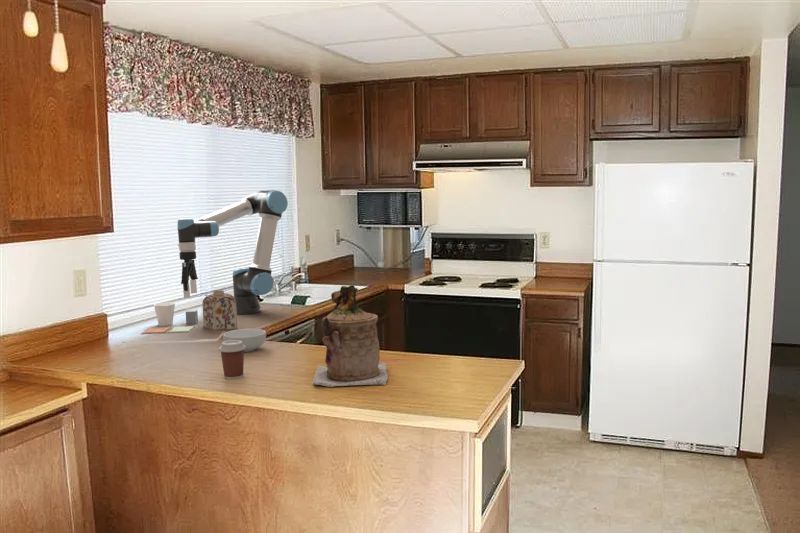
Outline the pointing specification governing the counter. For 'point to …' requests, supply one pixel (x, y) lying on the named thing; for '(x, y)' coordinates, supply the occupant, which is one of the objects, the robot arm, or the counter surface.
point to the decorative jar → (220, 311)
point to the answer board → (169, 330)
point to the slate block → (191, 316)
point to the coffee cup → (232, 358)
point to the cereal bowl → (247, 337)
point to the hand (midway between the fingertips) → (190, 295)
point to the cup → (164, 313)
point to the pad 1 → (157, 330)
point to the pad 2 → (182, 329)
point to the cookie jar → (350, 345)
